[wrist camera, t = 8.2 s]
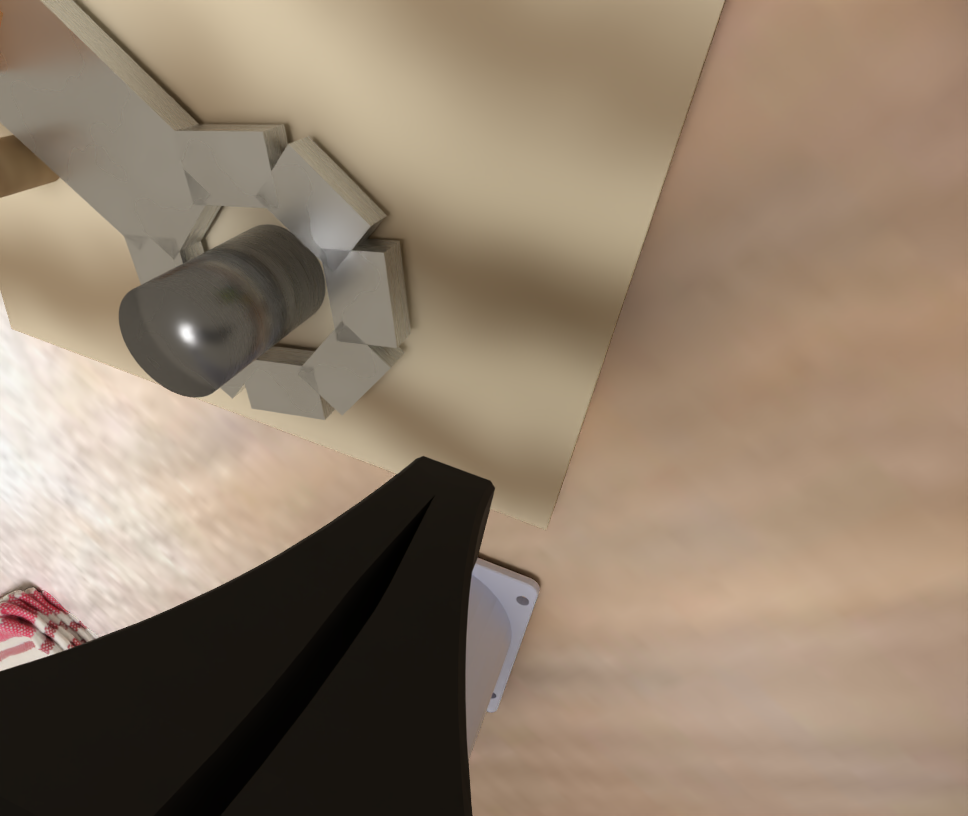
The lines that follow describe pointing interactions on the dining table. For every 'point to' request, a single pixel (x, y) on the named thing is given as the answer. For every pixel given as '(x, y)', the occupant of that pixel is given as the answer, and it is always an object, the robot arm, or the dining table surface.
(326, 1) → the board
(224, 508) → the dining table surface
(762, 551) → the dining table surface
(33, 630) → the dish towel
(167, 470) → the dining table surface
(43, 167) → the dowel
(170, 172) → the crank
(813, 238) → the dining table surface
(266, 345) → the post
